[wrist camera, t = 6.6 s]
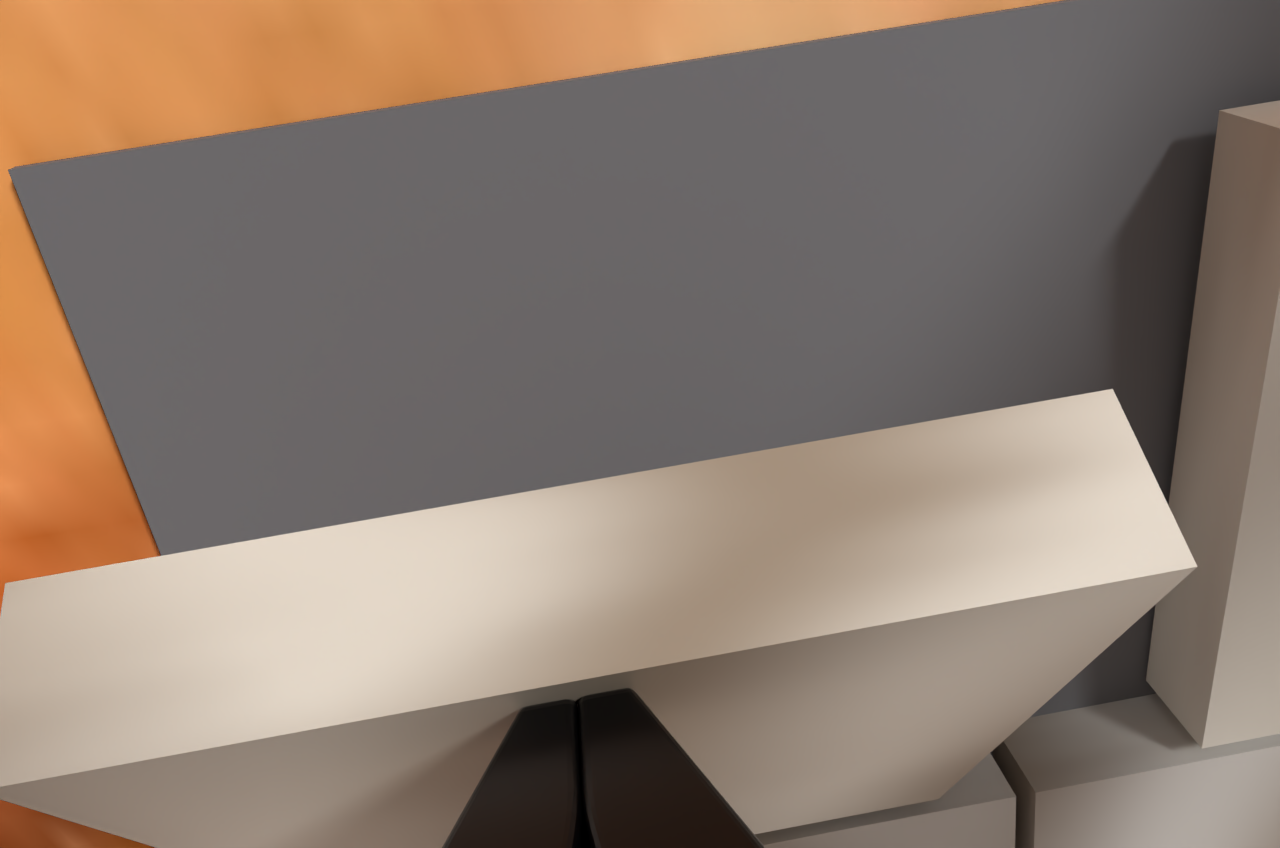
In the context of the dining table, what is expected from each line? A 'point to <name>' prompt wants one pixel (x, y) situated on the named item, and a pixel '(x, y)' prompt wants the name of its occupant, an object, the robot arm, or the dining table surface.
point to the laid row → (1085, 791)
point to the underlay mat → (657, 268)
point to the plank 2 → (1230, 456)
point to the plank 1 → (598, 635)
